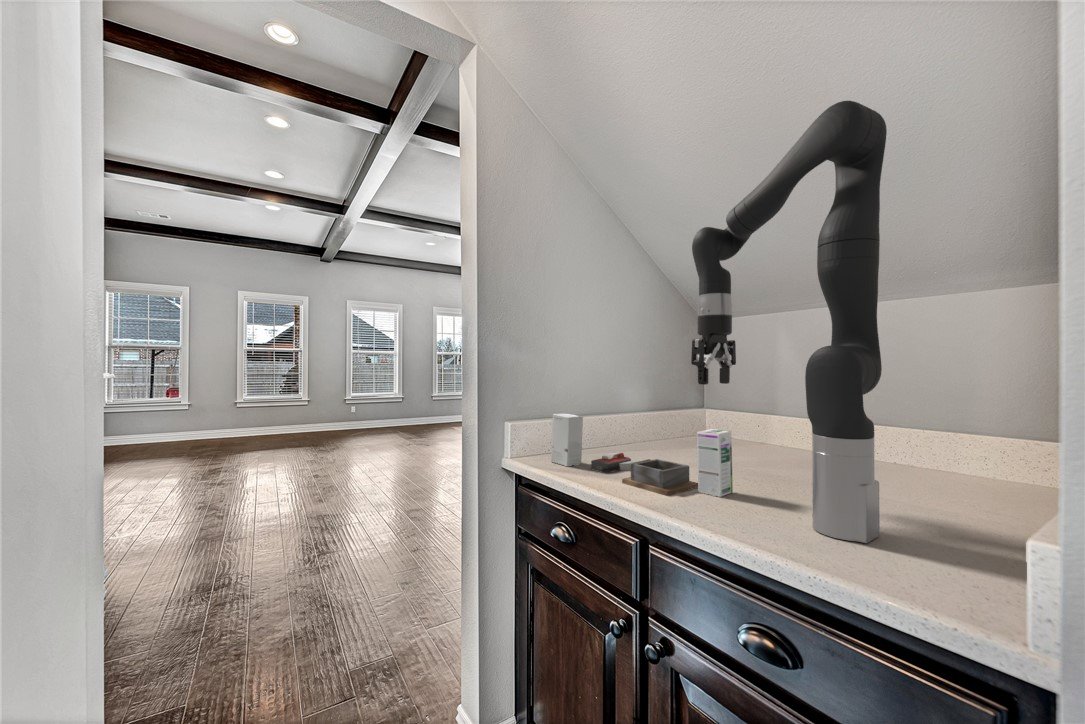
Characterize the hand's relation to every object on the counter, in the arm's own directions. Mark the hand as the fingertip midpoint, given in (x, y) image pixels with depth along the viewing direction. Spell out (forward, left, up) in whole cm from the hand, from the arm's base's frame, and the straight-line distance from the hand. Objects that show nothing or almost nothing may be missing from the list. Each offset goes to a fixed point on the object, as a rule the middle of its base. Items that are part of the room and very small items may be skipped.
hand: (714, 383), depth 105 cm
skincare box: (+45, +8, -26) cm, 52 cm away
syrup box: (0, 0, -26) cm, 26 cm away
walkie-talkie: (+32, -2, -26) cm, 41 cm away
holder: (+12, +5, -25) cm, 29 cm away
